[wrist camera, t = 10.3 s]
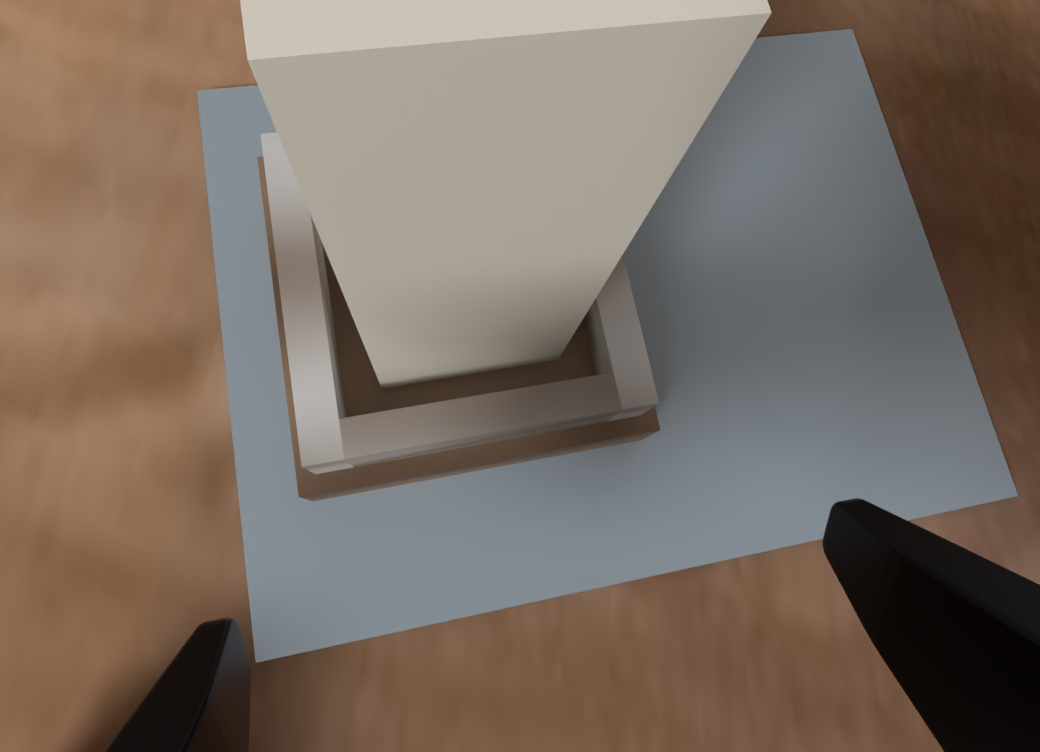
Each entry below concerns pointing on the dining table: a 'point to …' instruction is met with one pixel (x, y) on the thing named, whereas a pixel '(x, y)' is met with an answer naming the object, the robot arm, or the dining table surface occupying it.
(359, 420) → the brown open tray
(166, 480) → the dining table surface
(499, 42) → the cream post
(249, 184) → the blue-gray board
